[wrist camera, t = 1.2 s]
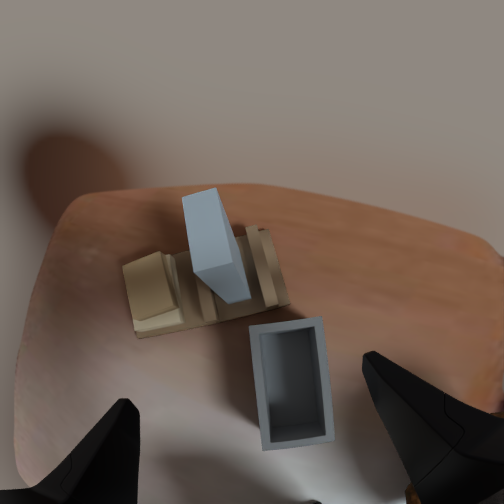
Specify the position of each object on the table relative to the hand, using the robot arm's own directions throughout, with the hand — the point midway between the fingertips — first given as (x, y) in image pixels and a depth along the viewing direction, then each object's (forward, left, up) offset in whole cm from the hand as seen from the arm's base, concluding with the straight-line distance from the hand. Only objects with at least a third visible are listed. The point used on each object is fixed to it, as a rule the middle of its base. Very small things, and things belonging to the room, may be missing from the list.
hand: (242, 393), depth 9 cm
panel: (+2, +8, -13) cm, 15 cm away
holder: (+1, -2, -13) cm, 14 cm away
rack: (-1, +9, -13) cm, 16 cm away
